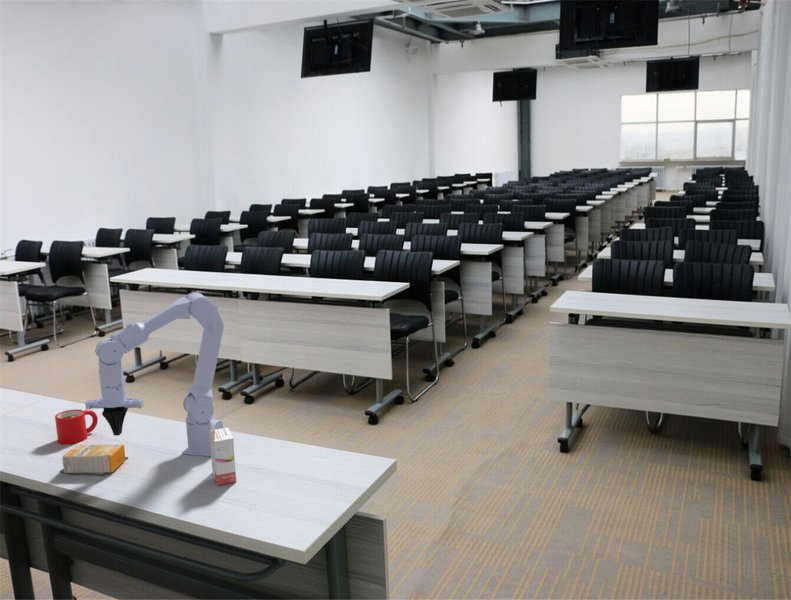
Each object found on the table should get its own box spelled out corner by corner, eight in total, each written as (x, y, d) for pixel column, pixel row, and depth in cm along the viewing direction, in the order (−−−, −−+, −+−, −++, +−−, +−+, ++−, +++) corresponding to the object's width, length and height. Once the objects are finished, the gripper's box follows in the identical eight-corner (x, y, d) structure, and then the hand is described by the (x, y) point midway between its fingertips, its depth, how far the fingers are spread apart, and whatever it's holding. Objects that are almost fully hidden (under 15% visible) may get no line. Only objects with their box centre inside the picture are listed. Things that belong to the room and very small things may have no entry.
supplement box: (111, 455, 179) (61, 456, 180) (113, 473, 180) (63, 473, 180) (124, 443, 187) (76, 443, 188) (126, 460, 188) (78, 460, 189)
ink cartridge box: (237, 482, 174) (233, 427, 171) (217, 486, 173) (212, 430, 170) (231, 468, 182) (227, 415, 179) (212, 472, 180) (207, 418, 177)
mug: (105, 433, 208) (102, 408, 207) (67, 446, 199) (63, 420, 197) (91, 427, 213) (88, 403, 211) (52, 440, 203) (49, 415, 202)
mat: (128, 458, 190) (128, 456, 190) (103, 476, 180) (103, 474, 179) (86, 455, 193) (86, 453, 193) (59, 472, 182) (59, 470, 182)
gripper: (146, 379, 184) (150, 427, 186) (91, 380, 184) (97, 428, 187) (135, 388, 177) (141, 438, 179) (79, 389, 177) (85, 439, 180)
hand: (117, 434), depth 183 cm, fingers closed
